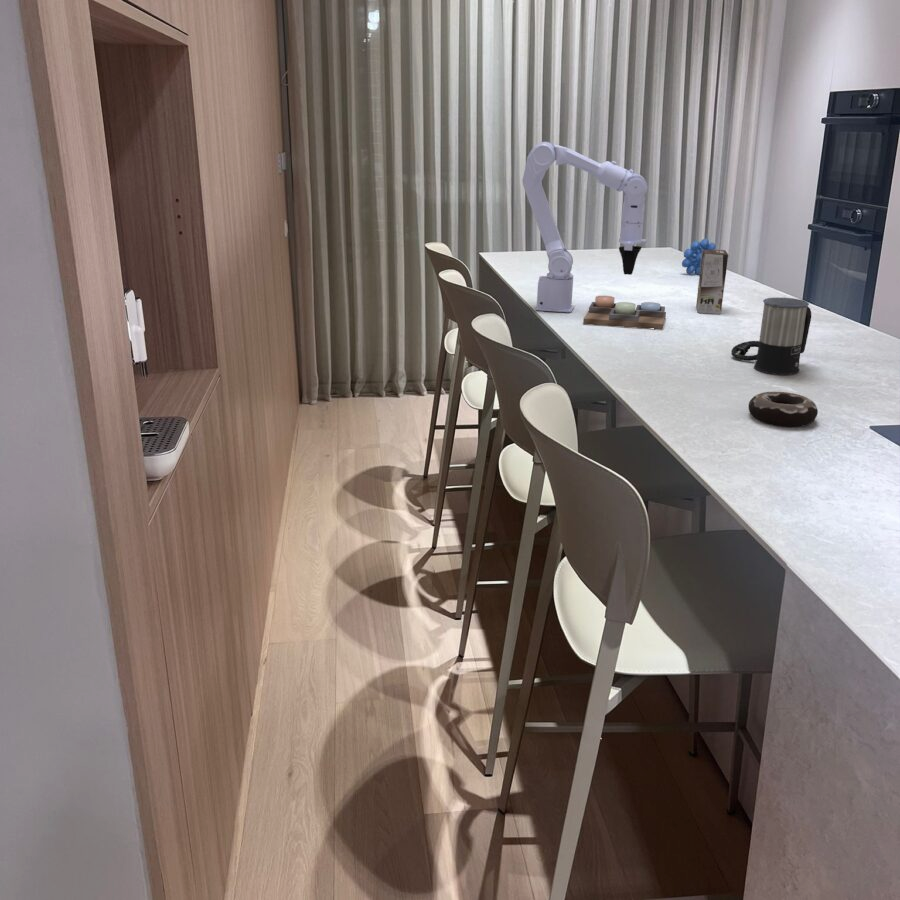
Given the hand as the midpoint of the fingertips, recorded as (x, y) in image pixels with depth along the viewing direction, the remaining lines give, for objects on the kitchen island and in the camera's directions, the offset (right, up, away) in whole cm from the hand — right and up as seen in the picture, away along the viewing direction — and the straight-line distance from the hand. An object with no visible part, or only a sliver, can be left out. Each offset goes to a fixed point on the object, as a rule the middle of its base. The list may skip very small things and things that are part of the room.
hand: (628, 274), depth 239 cm
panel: (-2, -13, -6) cm, 15 cm away
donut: (+12, -42, -78) cm, 90 cm away
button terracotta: (-7, -9, -2) cm, 12 cm away
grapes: (+36, +12, +62) cm, 72 cm away
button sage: (-3, -12, -10) cm, 16 cm away
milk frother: (+21, -29, -45) cm, 57 cm away
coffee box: (+24, -9, +8) cm, 26 cm away
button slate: (+5, -11, -5) cm, 13 cm away
